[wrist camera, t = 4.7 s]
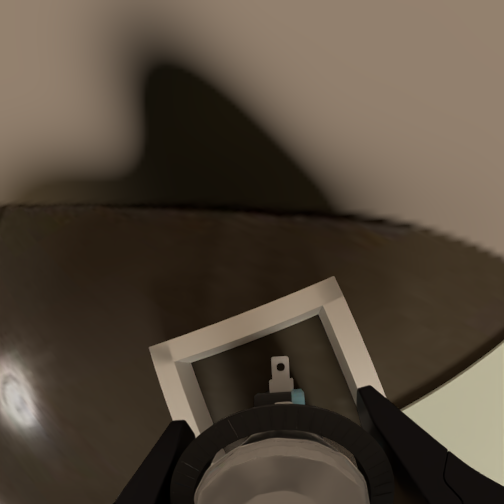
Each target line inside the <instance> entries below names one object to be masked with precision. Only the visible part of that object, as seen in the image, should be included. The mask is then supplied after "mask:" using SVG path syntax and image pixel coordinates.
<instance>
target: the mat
mask: <svg viewBox="0 0 504 504" xmlns="http://www.w3.org/2000/svg"><path fill="white" fill-rule="evenodd" d="M400 410H401V411H402V412H403V413H404V414H406V415H407V416H408V417H409V418H410V419H412V420H413V421H414V422H415V423H416V424H418V425H419V426H420V427H421V428H422V429H424V430H425V431H426V432H427V433H428V434H430V435H431V436H432V437H433V438H434V439H436V440H437V441H438V442H439V443H441V444H442V445H443V446H444V447H445V448H447V449H448V451H451V452H452V453H453V454H454V455H455V456H457V457H458V458H459V459H461V460H462V461H463V462H465V463H466V464H467V465H469V466H470V467H472V468H473V469H475V470H476V471H478V472H480V473H481V474H483V475H485V476H486V477H488V478H490V479H492V480H493V481H495V482H497V483H499V484H500V485H502V486H504V340H503V341H502V342H501V343H499V344H498V345H497V346H496V347H494V348H493V349H492V350H491V351H489V352H488V353H487V354H485V355H484V356H483V357H481V358H480V359H479V360H477V361H476V362H475V363H473V364H472V365H470V366H469V367H468V368H466V369H465V370H463V371H462V372H460V373H459V374H458V375H456V376H455V377H453V378H452V379H450V380H449V381H447V382H445V383H444V384H442V385H441V386H439V387H438V388H436V389H434V390H433V391H431V392H430V393H428V394H426V395H425V396H423V397H421V398H420V399H418V400H416V401H414V402H413V403H411V404H409V405H407V406H406V407H404V408H402V409H400Z"/></svg>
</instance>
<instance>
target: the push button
mask: <svg viewBox="0 0 504 504" xmlns="http://www.w3.org/2000/svg"><path fill="white" fill-rule="evenodd" d="M279 363H283V364H284V365H285V369H284V370H283V371H278V370H277V365H278V364H279ZM271 366H272V379H271V380H269V390H270V391H266V393H257V394H256V395H255V396H254V407H253V408H249V409H246V410H242V411H240V412H237V413H234V414H232V415H230V416H228V417H226V418H224V419H221V420H220V421H218V422H217V423H215V424H213V425H212V426H210V427H209V428H207V429H206V430H205V431H204V432H202V433H201V434H200V435H198V436H197V437H196V438H195V439H194V440H193V441H192V442H191V443H190V444H189V446H188V447H187V448H186V449H185V451H184V452H183V454H182V455H181V457H180V458H179V460H178V462H177V464H176V467H175V469H174V472H173V475H172V479H171V485H170V501H171V504H393V500H394V489H395V484H394V476H393V472H392V468H391V465H390V462H389V460H388V458H387V456H386V454H385V452H384V451H383V449H382V448H381V446H380V445H379V444H378V442H377V441H376V440H375V439H374V438H373V437H372V436H371V435H370V434H369V433H368V432H366V431H365V430H364V429H363V428H361V427H360V426H359V425H358V424H356V423H354V422H353V421H351V420H350V419H348V418H346V417H344V416H342V415H340V414H338V413H335V412H332V411H330V410H327V409H323V408H319V407H315V406H309V405H305V399H304V391H302V389H294V385H293V378H290V374H289V358H288V357H287V356H278V357H272V358H271ZM249 435H250V437H249V438H248V439H247V440H245V441H244V442H243V443H242V444H241V445H240V446H238V447H237V448H235V449H233V450H231V451H230V452H229V453H227V454H226V455H225V456H223V457H222V458H220V459H219V460H218V461H216V462H215V463H213V464H212V465H211V463H212V461H213V459H214V457H215V455H216V453H217V452H219V451H220V450H221V449H223V448H224V447H226V446H227V445H229V444H231V443H233V442H235V441H237V440H239V439H241V438H244V437H246V436H249ZM322 436H323V437H326V438H328V439H331V440H333V441H335V442H337V443H338V444H340V445H342V446H343V447H345V448H346V449H347V450H348V451H350V452H351V453H352V454H353V455H354V457H355V460H356V463H357V466H358V469H357V468H356V467H355V466H354V464H353V463H352V462H351V461H350V460H349V459H348V458H347V457H346V456H345V455H343V454H342V453H340V452H338V451H337V449H336V448H335V447H334V446H332V445H331V444H329V443H328V442H326V441H325V440H323V438H322Z"/></svg>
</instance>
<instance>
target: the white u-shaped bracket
mask: <svg viewBox="0 0 504 504" xmlns="http://www.w3.org/2000/svg"><path fill="white" fill-rule="evenodd" d="M315 315H319V317H320V319H321V322H322V324H323V326H324V329H325V331H326V334H327V336H328V338H329V341H330V343H331V345H332V348H333V350H334V353H335V355H336V357H337V360H338V362H339V365H340V367H341V370H342V372H343V375H344V377H345V379H346V382H347V384H348V387H349V389H350V392H351V394H352V397H353V399H354V402H355V404H356V402H357V389H358V388H360V387H363V386H367V385H371V386H372V387H374V388H375V389H376V390H377V391H378V392H379V393H381V394H382V395H383V396H384V397H385V398H386V396H385V393H384V391H383V388H382V386H381V383H380V381H379V378H378V376H377V373H376V371H375V368H374V366H373V363H372V361H371V358H370V356H369V354H368V351H367V349H366V346H365V344H364V342H363V339H362V337H361V335H360V332H359V330H358V328H357V325H356V323H355V321H354V318H353V316H352V314H351V312H350V309H349V307H348V305H347V303H346V300H345V298H344V296H343V294H342V292H341V289H340V287H339V285H338V283H337V281H336V279H335V276H333V277H330V278H328V279H326V280H323V281H321V282H319V283H316V284H314V285H312V286H309V287H307V288H304V289H302V290H299V291H297V292H295V293H292V294H290V295H287V296H285V297H282V298H280V299H277V300H275V301H272V302H270V303H267V304H265V305H262V306H260V307H257V308H255V309H252V310H250V311H247V312H244V313H242V314H239V315H237V316H234V317H231V318H229V319H226V320H223V321H221V322H218V323H215V324H213V325H210V326H207V327H205V328H202V329H199V330H196V331H194V332H191V333H188V334H185V335H183V336H180V337H177V338H174V339H171V340H168V341H166V342H163V343H160V344H157V345H154V346H151V347H149V350H150V354H151V357H152V360H153V363H154V367H155V370H156V373H157V376H158V379H159V382H160V385H161V388H162V391H163V394H164V397H165V400H166V403H167V406H168V408H169V411H170V414H171V417H172V419H173V421H174V420H185V421H186V422H187V423H188V425H189V426H190V428H191V429H192V431H193V432H194V434H195V437H197V436H198V435H200V434H201V433H202V432H204V431H205V430H206V429H207V428H209V427H210V426H212V425H213V422H212V419H211V416H210V414H209V411H208V409H207V406H206V403H205V401H204V398H203V395H202V393H201V390H200V387H199V384H198V381H197V379H196V376H195V373H194V370H193V367H192V364H191V363H192V362H195V361H198V360H200V359H203V358H206V357H209V356H212V355H215V354H218V353H221V352H223V351H226V350H229V349H232V348H234V347H237V346H240V345H243V344H245V343H248V342H251V341H253V340H256V339H258V338H261V337H264V336H266V335H269V334H271V333H274V332H276V331H279V330H281V329H284V328H286V327H289V326H291V325H294V324H296V323H299V322H301V321H303V320H306V319H308V318H311V317H313V316H315ZM356 407H357V405H356ZM225 455H226V453H225V451H224V449H221V450H220V451H219V452H217V453H216V455H215V457H214V459H213V461H212V463H211V465H212V464H213V463H215V462H216V461H218V460H219V459H220V458H222V457H223V456H225Z"/></svg>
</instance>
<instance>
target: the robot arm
mask: <svg viewBox="0 0 504 504" xmlns="http://www.w3.org/2000/svg"><path fill="white" fill-rule="evenodd" d="M356 405H357V411H358V415H359V418H360V422H361V426H362V428H363V429H364V430H365V431H366V432H368V433H369V434H370V435H371V436H372V437H373V438H374V439H375V440H376V441H377V442H378V444H379V445H380V446H381V448H382V449H383V451H384V452H385V454H386V456H387V458H388V460H389V462H390V465H391V468H392V472H393V476H394V484H395V489H394V500H393V504H504V486H502V485H500V484H499V483H497V482H495V481H493V480H492V479H490V478H488V477H486V476H485V475H483V474H481V473H480V472H478V471H476V470H475V469H473V468H472V467H470V466H469V465H467V464H466V463H465V462H463V461H462V460H461V459H459V458H458V457H457V456H455V455H454V454H453V453H452V452H451V451H448V449H447V448H445V447H444V446H443V445H442V444H441V443H439V442H438V441H437V440H436V439H434V438H433V437H432V436H431V435H430V434H428V433H427V432H426V431H425V430H424V429H422V428H421V427H420V426H419V425H418V424H416V423H415V422H414V421H413V420H412V419H410V418H409V417H408V416H407V415H406V414H404V413H403V412H402V411H401V410H400V409H398V408H397V407H396V406H395V405H394V404H392V403H391V402H390V401H389V400H388V399H387V398H385V397H384V396H383V395H382V394H381V393H379V392H378V391H377V390H376V389H375V388H374V387H372V386H371V385H367V386H363V387H360V388H358V389H357V402H356ZM195 438H196V437H195V434H194V432H193V431H192V429H191V428H190V426H189V425H188V423H187V422H186V421H185V420H174V421H172V422H171V423H170V424H169V426H168V427H167V428H166V430H165V431H164V433H163V434H162V436H161V437H160V439H159V440H158V441H157V443H156V444H155V446H154V447H153V449H152V450H151V451H150V453H149V454H148V456H147V457H146V458H145V460H144V461H143V463H142V464H141V466H140V467H139V468H138V470H137V471H136V473H135V474H134V475H133V477H132V478H131V480H130V481H129V482H128V484H127V485H126V486H125V488H124V489H123V491H122V492H121V493H120V495H119V496H118V498H117V499H116V500H115V502H114V503H113V504H171V501H170V485H171V479H172V475H173V472H174V469H175V467H176V464H177V462H178V460H179V458H180V457H181V455H182V454H183V452H184V451H185V449H186V448H187V447H188V446H189V444H190V443H191V442H192V441H193V440H194V439H195Z"/></svg>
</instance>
